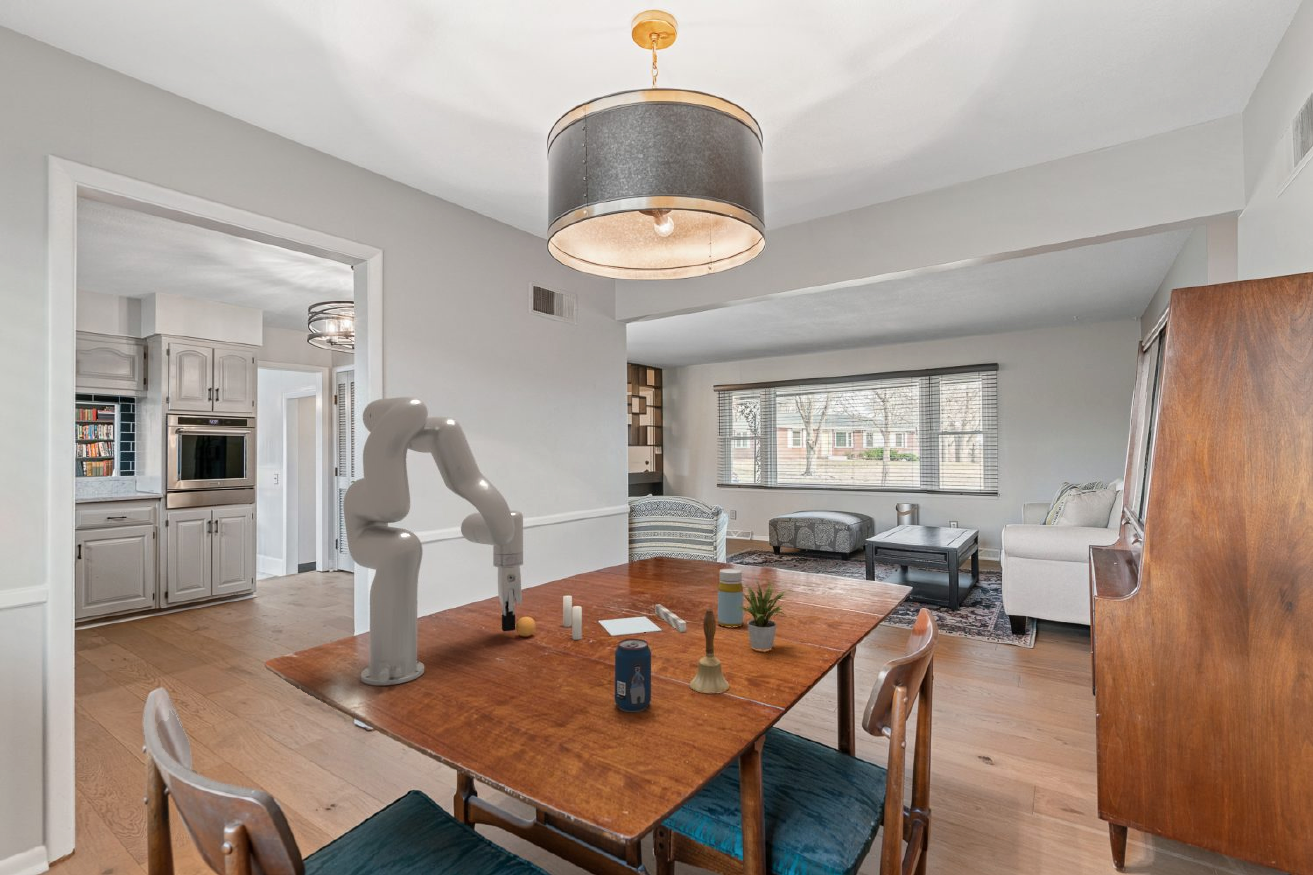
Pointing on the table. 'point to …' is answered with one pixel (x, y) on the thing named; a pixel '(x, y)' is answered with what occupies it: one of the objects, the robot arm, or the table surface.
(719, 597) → the bottle
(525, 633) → the ball
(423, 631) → the table surface
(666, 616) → the wall
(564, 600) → the post far
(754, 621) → the house plant
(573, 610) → the post near
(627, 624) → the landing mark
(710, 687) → the hand bell
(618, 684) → the soda can
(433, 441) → the robot arm
